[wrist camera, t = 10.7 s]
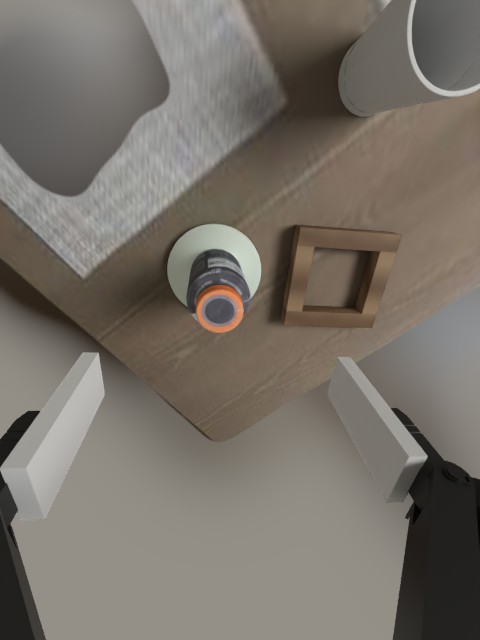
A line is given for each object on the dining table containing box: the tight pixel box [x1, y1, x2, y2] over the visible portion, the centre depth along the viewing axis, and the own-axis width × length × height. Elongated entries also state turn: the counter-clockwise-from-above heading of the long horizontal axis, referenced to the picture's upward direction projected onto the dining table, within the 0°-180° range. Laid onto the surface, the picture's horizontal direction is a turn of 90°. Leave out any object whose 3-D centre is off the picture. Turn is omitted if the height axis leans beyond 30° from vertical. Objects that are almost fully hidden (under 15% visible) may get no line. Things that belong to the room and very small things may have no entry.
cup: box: [338, 0, 480, 117], centre depth 22 cm, size 8×8×12 cm
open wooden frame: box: [281, 225, 402, 328], centre depth 35 cm, size 12×12×2 cm
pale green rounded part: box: [167, 223, 261, 307], centre depth 34 cm, size 11×11×1 cm
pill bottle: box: [186, 249, 251, 333], centre depth 29 cm, size 6×6×11 cm
